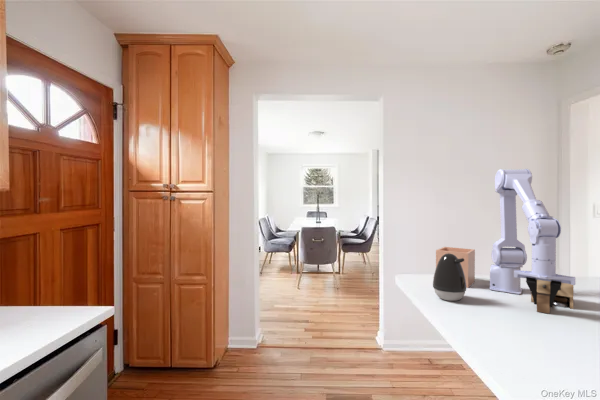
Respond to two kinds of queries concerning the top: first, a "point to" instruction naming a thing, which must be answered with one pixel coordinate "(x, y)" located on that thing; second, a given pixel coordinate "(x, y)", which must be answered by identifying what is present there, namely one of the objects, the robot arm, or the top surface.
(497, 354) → the top surface
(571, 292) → the bread box
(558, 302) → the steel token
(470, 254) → the utensil crock
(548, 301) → the wooden mallet
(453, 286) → the black rounded egg shape
